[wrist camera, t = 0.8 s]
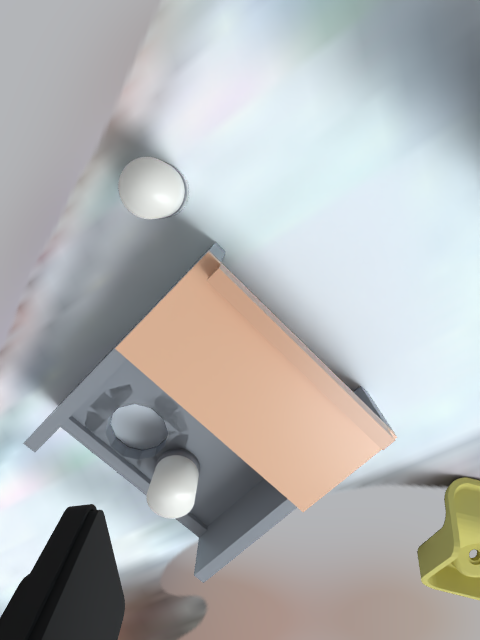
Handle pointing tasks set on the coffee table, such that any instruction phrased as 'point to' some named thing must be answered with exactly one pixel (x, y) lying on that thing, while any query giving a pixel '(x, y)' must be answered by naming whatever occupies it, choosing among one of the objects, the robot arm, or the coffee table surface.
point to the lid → (255, 384)
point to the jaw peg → (152, 188)
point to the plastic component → (455, 543)
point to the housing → (174, 459)
